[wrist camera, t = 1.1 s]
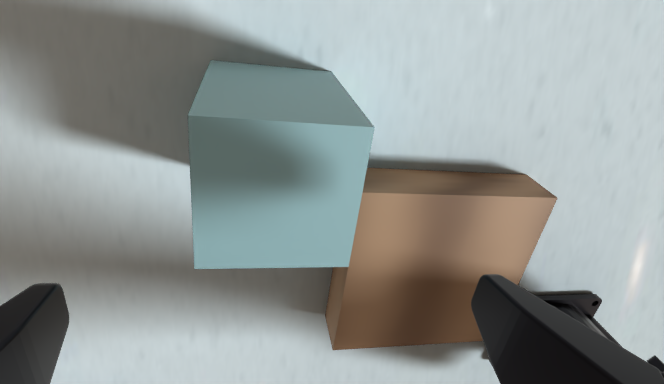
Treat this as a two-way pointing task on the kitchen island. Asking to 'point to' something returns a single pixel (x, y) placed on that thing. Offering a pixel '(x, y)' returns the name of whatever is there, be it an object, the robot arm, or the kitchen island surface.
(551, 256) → the kitchen island surface
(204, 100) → the teal block
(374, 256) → the walnut base block
